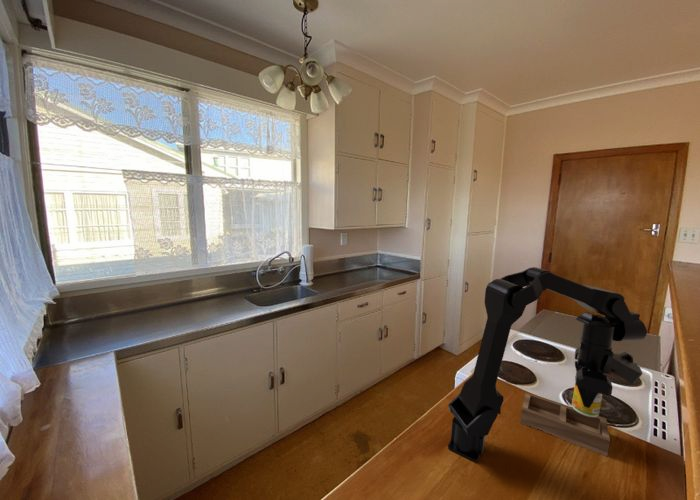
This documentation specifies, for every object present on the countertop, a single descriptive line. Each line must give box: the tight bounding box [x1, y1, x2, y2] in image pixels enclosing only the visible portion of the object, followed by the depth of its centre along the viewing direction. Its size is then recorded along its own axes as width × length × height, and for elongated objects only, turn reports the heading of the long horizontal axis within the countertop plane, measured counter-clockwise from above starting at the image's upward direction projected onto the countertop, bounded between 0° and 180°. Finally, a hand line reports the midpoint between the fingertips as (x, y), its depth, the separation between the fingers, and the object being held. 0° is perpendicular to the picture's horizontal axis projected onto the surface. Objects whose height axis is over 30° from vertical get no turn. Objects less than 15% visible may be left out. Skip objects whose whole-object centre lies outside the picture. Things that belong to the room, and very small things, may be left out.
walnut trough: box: [519, 391, 611, 457], centre depth 78 cm, size 9×18×4 cm, turn 54°
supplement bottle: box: [571, 370, 603, 417], centre depth 74 cm, size 5×5×10 cm
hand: (586, 401), depth 75 cm, fingers closed on supplement bottle, 5 cm apart
